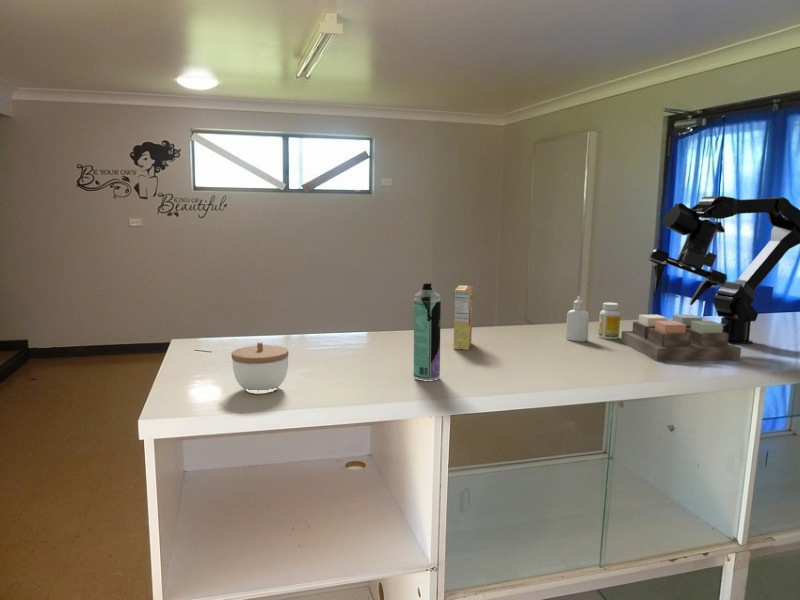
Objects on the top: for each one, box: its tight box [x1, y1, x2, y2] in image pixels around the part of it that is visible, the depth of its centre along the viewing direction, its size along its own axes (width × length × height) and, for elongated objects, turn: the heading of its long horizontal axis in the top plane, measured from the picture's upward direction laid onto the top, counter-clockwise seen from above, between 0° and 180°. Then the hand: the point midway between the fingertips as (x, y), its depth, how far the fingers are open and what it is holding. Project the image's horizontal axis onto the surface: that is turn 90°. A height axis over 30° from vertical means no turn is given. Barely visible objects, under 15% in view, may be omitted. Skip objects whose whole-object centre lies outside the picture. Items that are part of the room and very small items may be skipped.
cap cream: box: [638, 314, 668, 326], centre depth 151 cm, size 5×5×3 cm
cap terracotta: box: [655, 320, 686, 334], centre depth 142 cm, size 5×5×3 cm
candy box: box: [453, 285, 474, 351], centre depth 151 cm, size 9×4×15 cm, turn 169°
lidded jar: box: [231, 341, 289, 391], centre depth 114 cm, size 11×11×9 cm
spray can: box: [413, 282, 442, 380], centre depth 122 cm, size 6×6×20 cm
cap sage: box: [691, 320, 723, 333], centre depth 143 cm, size 5×5×3 cm
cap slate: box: [671, 313, 703, 326], centre depth 151 cm, size 5×5×3 cm
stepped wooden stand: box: [620, 320, 742, 362], centre depth 147 cm, size 20×20×6 cm
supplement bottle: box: [598, 301, 621, 340], centre depth 162 cm, size 5×5×10 cm
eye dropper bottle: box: [565, 295, 590, 343], centre depth 159 cm, size 4×6×12 cm
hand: (672, 297), depth 153 cm, fingers open, 9 cm apart
